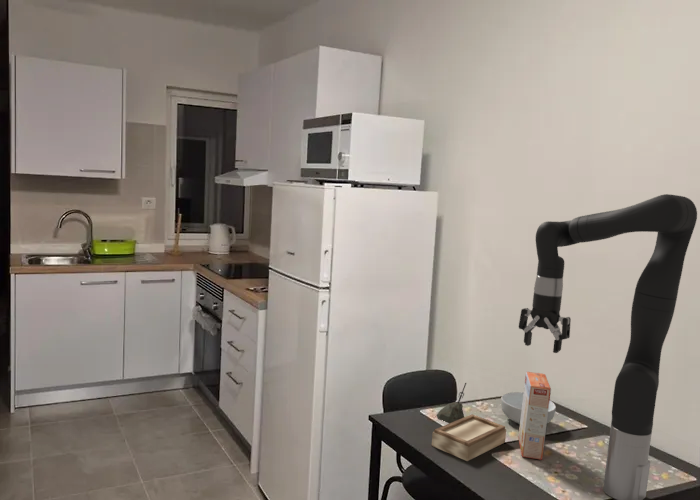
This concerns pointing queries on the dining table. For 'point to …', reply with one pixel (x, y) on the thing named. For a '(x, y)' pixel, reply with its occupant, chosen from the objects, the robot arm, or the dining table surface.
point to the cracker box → (534, 415)
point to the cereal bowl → (519, 406)
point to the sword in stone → (452, 411)
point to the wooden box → (469, 437)
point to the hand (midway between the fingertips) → (541, 348)
